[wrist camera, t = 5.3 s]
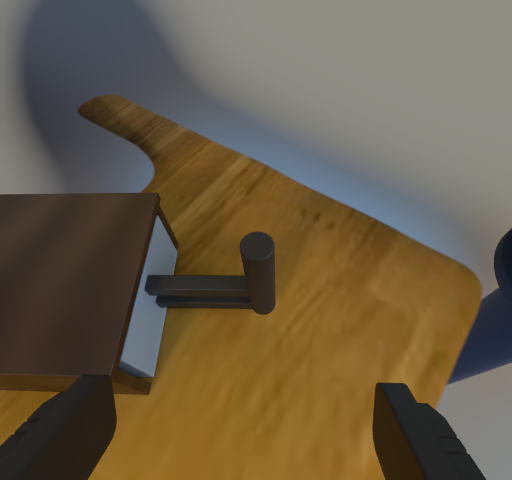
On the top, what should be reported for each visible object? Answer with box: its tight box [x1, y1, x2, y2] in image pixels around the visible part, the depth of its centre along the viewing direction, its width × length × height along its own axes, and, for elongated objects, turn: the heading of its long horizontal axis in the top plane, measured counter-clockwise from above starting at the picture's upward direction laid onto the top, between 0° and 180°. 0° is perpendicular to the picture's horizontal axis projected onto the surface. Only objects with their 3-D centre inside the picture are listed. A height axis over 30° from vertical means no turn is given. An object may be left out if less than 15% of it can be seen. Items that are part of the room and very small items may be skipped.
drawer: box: [118, 215, 275, 377], centre depth 24 cm, size 23×11×10 cm, turn 88°
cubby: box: [0, 193, 178, 395], centre depth 25 cm, size 16×14×8 cm
